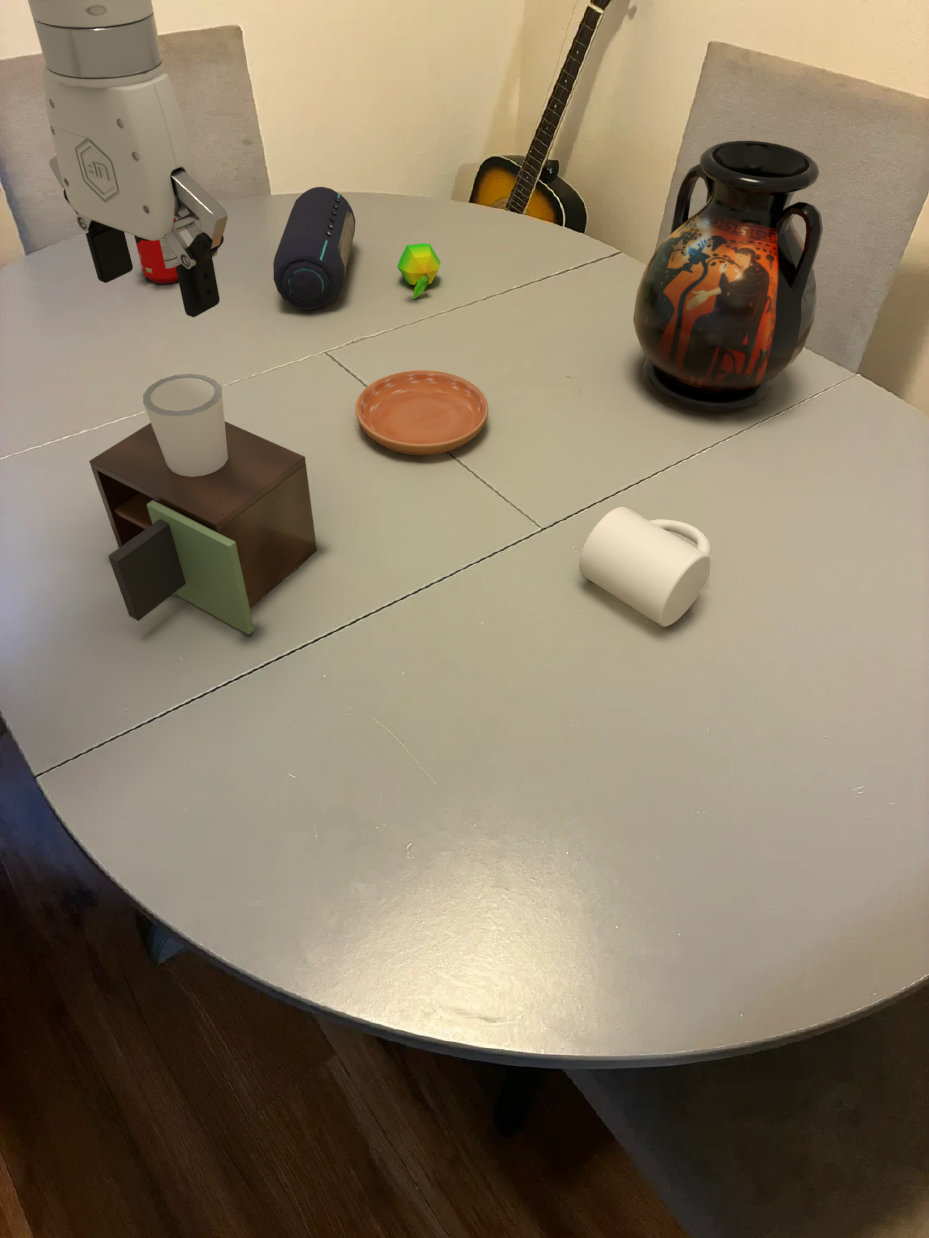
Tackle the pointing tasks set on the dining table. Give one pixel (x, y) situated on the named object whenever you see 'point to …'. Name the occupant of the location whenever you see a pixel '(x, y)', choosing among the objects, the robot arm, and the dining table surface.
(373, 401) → the saucer
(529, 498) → the dining table surface
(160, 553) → the sliding door
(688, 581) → the mug
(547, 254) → the dining table surface
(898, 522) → the dining table surface
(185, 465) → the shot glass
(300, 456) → the cupboard
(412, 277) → the apple
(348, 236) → the portable speaker
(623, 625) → the dining table surface
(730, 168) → the amphora vase
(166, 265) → the beverage can
